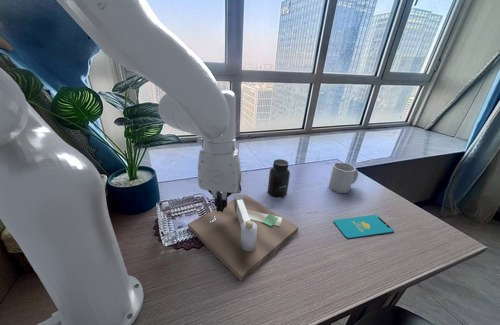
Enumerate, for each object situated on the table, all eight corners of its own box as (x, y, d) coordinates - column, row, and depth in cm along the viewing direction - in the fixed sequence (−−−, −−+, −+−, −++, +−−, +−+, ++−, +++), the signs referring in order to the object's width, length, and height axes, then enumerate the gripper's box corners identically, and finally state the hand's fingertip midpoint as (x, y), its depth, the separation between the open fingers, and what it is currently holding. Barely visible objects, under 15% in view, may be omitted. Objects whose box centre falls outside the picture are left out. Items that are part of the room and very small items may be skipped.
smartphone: (332, 219, 62) (376, 214, 65) (331, 221, 62) (375, 216, 65) (347, 238, 55) (395, 231, 58) (346, 240, 56) (394, 233, 59)
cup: (325, 183, 81) (329, 162, 77) (348, 181, 83) (353, 161, 79) (335, 194, 75) (341, 172, 71) (360, 192, 77) (367, 170, 73)
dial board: (240, 281, 44) (240, 275, 43) (188, 227, 57) (187, 222, 56) (297, 231, 58) (298, 226, 57) (244, 197, 71) (244, 193, 70)
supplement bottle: (282, 201, 70) (286, 168, 65) (264, 194, 73) (266, 163, 68) (290, 191, 75) (294, 161, 70) (272, 185, 78) (275, 156, 73)
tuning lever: (257, 250, 49) (259, 227, 46) (242, 253, 48) (243, 229, 45) (243, 211, 62) (244, 191, 58) (231, 213, 61) (231, 192, 58)
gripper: (181, 148, 47) (189, 213, 55) (248, 154, 45) (245, 221, 53) (195, 137, 53) (200, 197, 61) (253, 142, 51) (250, 203, 60)
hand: (221, 208), depth 57 cm, fingers closed
